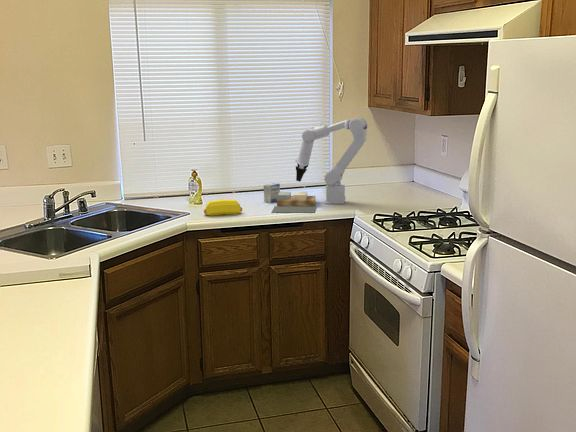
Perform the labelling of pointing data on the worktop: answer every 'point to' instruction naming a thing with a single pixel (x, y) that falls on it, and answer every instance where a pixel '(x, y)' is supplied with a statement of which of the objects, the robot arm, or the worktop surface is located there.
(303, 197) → the ivory card
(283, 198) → the slate card
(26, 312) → the worktop surface
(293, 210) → the mat
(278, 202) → the deck
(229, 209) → the banana
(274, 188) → the medicine box
